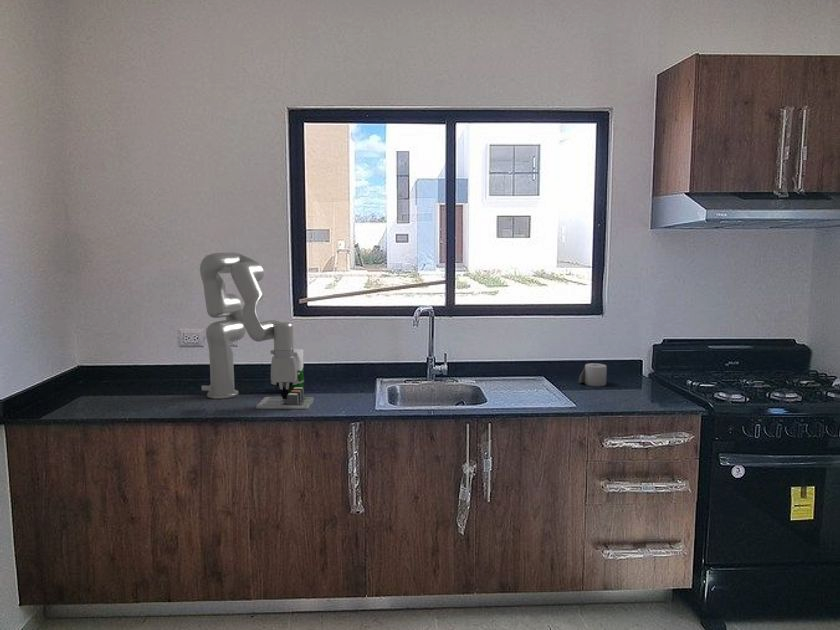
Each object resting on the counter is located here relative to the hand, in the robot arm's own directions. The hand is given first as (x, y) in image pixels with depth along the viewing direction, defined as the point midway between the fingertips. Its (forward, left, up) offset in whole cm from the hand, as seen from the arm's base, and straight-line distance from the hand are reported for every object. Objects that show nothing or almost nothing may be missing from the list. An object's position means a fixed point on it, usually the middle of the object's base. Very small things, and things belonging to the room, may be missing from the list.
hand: (285, 398), depth 250 cm
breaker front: (+4, -5, -1) cm, 6 cm away
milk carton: (-2, +22, -3) cm, 22 cm away
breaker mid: (+4, 0, -1) cm, 4 cm away
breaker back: (+4, +5, -1) cm, 7 cm away
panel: (0, 0, -2) cm, 2 cm away
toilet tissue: (+131, +38, -3) cm, 137 cm away
